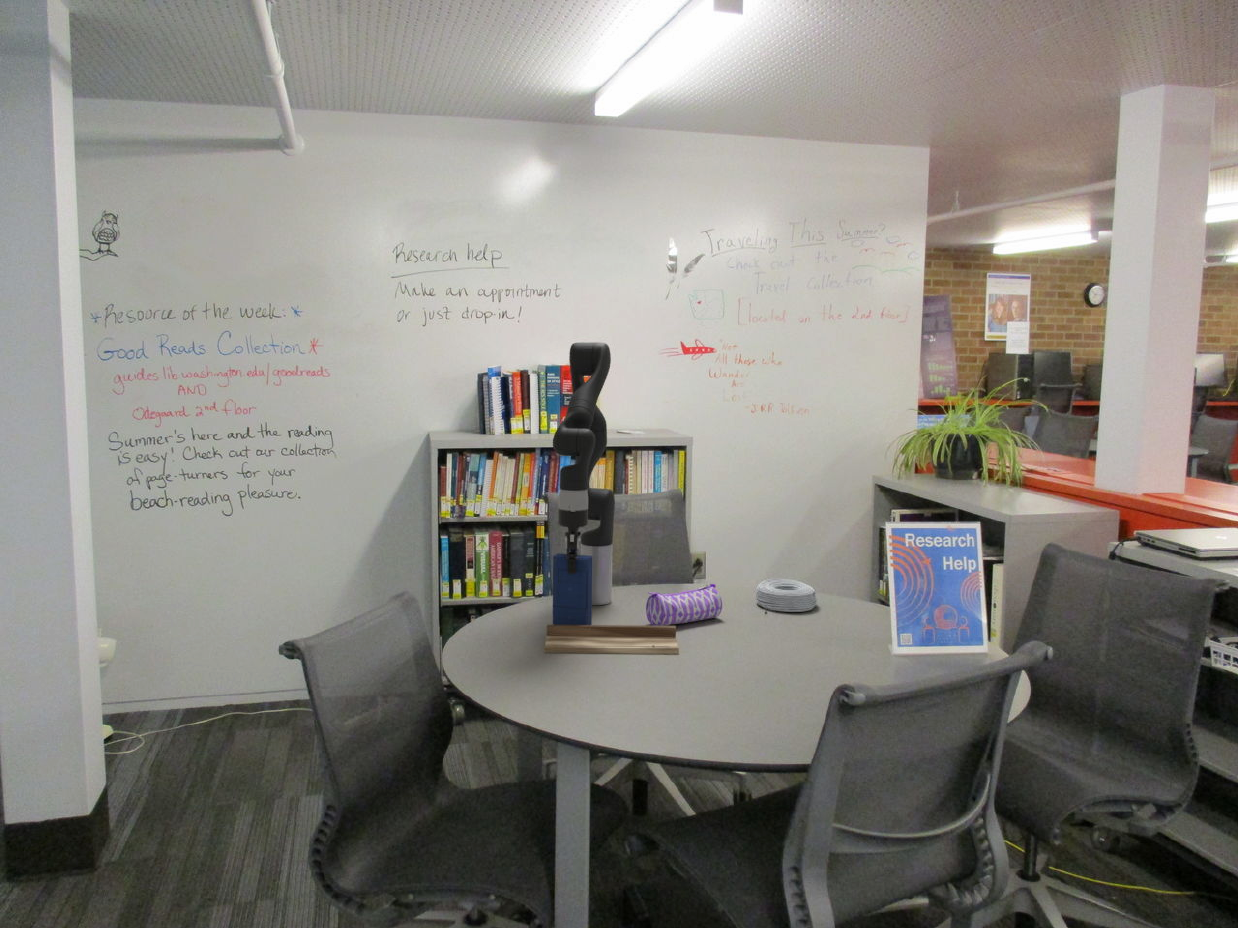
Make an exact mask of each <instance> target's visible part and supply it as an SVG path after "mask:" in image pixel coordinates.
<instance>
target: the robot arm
mask: <svg viewBox="0 0 1238 928" xmlns="http://www.w3.org/2000/svg"><path fill="white" fill-rule="evenodd" d="M611 356H612V355H611V349H610V347H609V345H608V344H607V343H606V342H600V341H599V342H596V341H595V342H592V341H591V342H574V343H572V344H571V346H570V347H569V359H568V360H569V369H570V370H569V371H570V379H571V380H570V381H571V388H572V394H571V397H570V399H569V401H568V405H567V410H566V414H565V417H564V418H563V420H562V421H561V423H560V424H559V426H558V427H557V429H556V431H554V435H553V438H552V447H553V451H554V452H555V453H556V454H557V455H558V456H561V457H575V463H574V464H569V465H565V466H562V467H561V468H560V470H559V493H558V509H557V511H558V513H557V515H558V516H557V517H558V519H557V520H558V521H557V522H558V525H559V527H560V526H561V527H564V528H567V531H565V534H564V541H565V551H566V554H567V555H566V557H567V559H568V570H567V572H568V574H575V573H576V561H577V557H578V556H577V555H578V552H579V551H580V555H587V556H592V606H603V605H608V604H610V603H612V600H613V599H612V598H613V596H612V595H613V593H612V592H613V550H614V548H613V539H614V524H615V523H614V521H615V507H616V500H615V494H614V492H613V490H611V489H609V488H596V487H595V488H594V487H590V479H591V475H592V472H593V471H594V469H595V466H596V465H597V463H598V462H599V460H600V459H601V457H602V455H603V454H604V452H605V450H606V448H607V444H608V432H607V429H608V428H607V427H608V426H607V424H608V423H607V420H606V418H605V416H604V414H603V412H602V411H601V409H600V408H599V406H598V405H597V403H598V399H599V396H600V394H601V393H602V390H603V387H604V385H605V383H606V380H607V377H608V375H609V371H610V367H611V363H612V362H611V361H612V359H611V358H612V357H611ZM585 377H589V378H588V379H587V380H586V381H585ZM589 521H600V523H599V525H598V527H596V528H594V529H591V530H587V531H584V532H583V533H582V531H579V529H580V528H584V527H587V526H588V524H589Z"/></svg>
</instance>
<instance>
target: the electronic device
mask: <svg viewBox="0 0 1238 928" xmlns="http://www.w3.org/2000/svg"><path fill="white" fill-rule="evenodd" d="M566 555H567V553H559V552H558V553H556V554H554V555H553V556H552V625H593V623H592V620H593V619H592V618H593V617H592V613H593V612H592V610H593V609H592V608H593V607H592V606H593V605H592V556H587V555H581V554H577V556H578V557H577V561H576V573H575V574H568V572H567V570H568V559H567V557H566Z"/></svg>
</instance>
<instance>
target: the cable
mask: <svg viewBox="0 0 1238 928" xmlns="http://www.w3.org/2000/svg"><path fill="white" fill-rule="evenodd" d="M755 600H756V602H757V604H758V605H759V606H761V607H762V608H763V609H765V610H769V611H773V612H774V611H778V612H786V613H787V612H789V613H797V612H798V613H801V612H807V611H810V610H813V609H814V607H815V606H816V605H817V601H818V600H817V598H816V590H815V588H813V586H811V585H808V584H806V583H804V582H801V581H798V580H795V579H787V578H768V579H765V580H762V581H760V583H758V585H757V586H756V590H755Z"/></svg>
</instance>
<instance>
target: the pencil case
mask: <svg viewBox="0 0 1238 928" xmlns="http://www.w3.org/2000/svg"><path fill="white" fill-rule="evenodd" d="M716 587H717V586H716V583H709V584H706V585H705V586H701V587H699V588H696V589H692V590H684V591H682V592H675V593H664V594H662V593H659V592H649V591H648V592H647V594H650V595H649V596H648V598H647V601H646V605H645V613H646V618H647V621H648V623H649V624H650V625H651V626H673V625H678V624H679V625H681V624H686V623H691V622H692V623H693V622H697V621H703V620H704V621H705V620H709V619H715V618H717V617H718V616H720V614H721V613H722V609H723V601H722V597H721V594H720V593H719V591H718V590H717V589H716Z"/></svg>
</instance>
